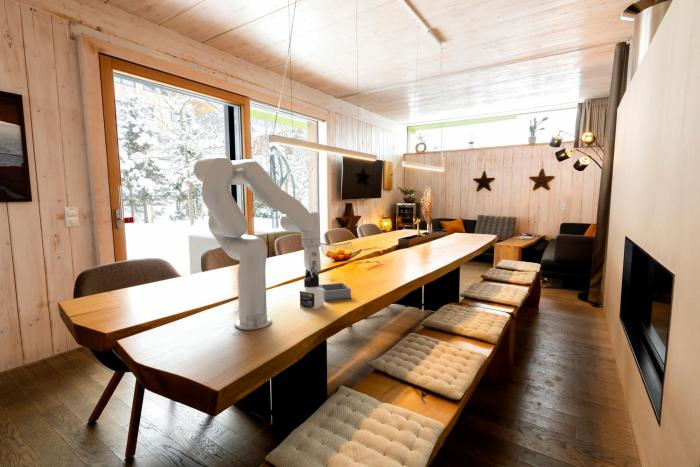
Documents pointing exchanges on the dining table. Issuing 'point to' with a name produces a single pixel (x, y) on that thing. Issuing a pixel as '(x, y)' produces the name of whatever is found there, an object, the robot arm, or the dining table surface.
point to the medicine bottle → (311, 296)
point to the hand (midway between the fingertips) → (312, 283)
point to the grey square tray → (336, 292)
